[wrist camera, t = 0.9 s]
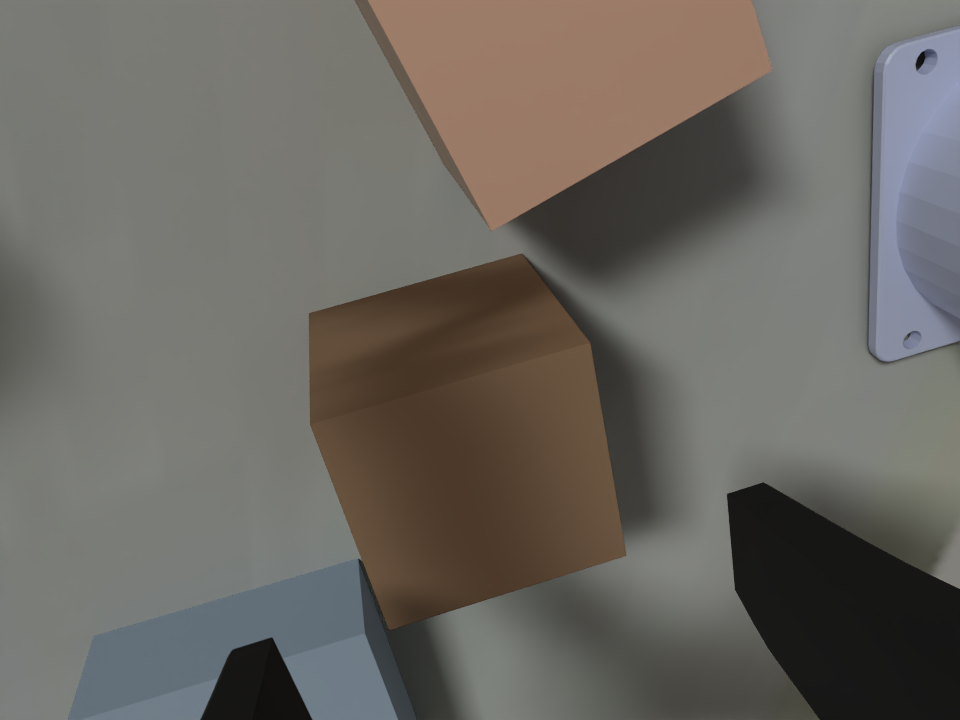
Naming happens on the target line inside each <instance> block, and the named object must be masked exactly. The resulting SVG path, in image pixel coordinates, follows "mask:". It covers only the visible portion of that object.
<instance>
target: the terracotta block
mask: <svg viewBox="0 0 960 720" xmlns="http://www.w3.org/2000/svg"><path fill="white" fill-rule="evenodd" d="M354 1H355V2H356V4H357V6H358V8H359V10H360V12H361V13H362V15H363V17H364V19H365V21H366V23H367V24H368V26H369V28H370V30H371V32H372V34H373V35H374V37H375V39H376V41H377V43H378V45H379V46H380V48H381V50H382V52H383V54H384V56H385V57H386V59H387V61H388V63H389V65H390V67H391V68H392V70H393V72H394V74H395V76H396V78H397V80H398V81H399V83H400V85H401V87H402V89H403V91H404V92H405V94H406V96H407V98H408V100H409V102H410V103H411V105H412V107H413V109H414V111H415V113H416V114H417V116H418V118H419V120H420V122H421V124H422V125H423V127H424V129H425V131H426V133H427V135H428V136H429V138H430V140H431V142H432V144H433V146H434V147H435V149H436V151H437V153H438V155H439V157H440V158H441V160H442V162H443V164H444V165H445V167H446V168H447V170H448V171H449V172H450V174H451V175H452V177H453V178H454V179H455V181H456V182H457V184H458V185H459V186H460V188H461V189H462V191H463V192H464V193H465V195H466V196H467V198H468V199H469V200H470V202H471V203H472V205H473V206H474V207H475V209H476V210H477V212H478V213H479V214H480V216H481V217H482V219H483V220H484V221H485V223H486V224H487V225H488V227H489V228H490V230H491V231H493V230H495V229H497V228H498V227H500V226H502V225H504V224H505V223H507V222H509V221H511V220H512V219H514V218H516V217H518V216H519V215H521V214H523V213H525V212H526V211H528V210H530V209H532V208H533V207H535V206H537V205H538V204H540V203H542V202H544V201H545V200H547V199H549V198H551V197H552V196H554V195H556V194H558V193H559V192H561V191H563V190H565V189H566V188H568V187H570V186H572V185H573V184H575V183H577V182H579V181H580V180H582V179H584V178H586V177H587V176H589V175H591V174H593V173H594V172H596V171H598V170H600V169H601V168H603V167H605V166H606V165H608V164H610V163H612V162H613V161H615V160H617V159H619V158H620V157H622V156H624V155H626V154H627V153H629V152H631V151H633V150H634V149H636V148H638V147H640V146H641V145H643V144H645V143H647V142H648V141H650V140H652V139H654V138H655V137H657V136H659V135H661V134H662V133H664V132H666V131H668V130H669V129H671V128H673V127H674V126H676V125H678V124H680V123H681V122H683V121H685V120H687V119H688V118H690V117H692V116H694V115H695V114H697V113H699V112H701V111H702V110H704V109H706V108H708V107H709V106H711V105H713V104H715V103H716V102H718V101H720V100H722V99H723V98H725V97H727V96H729V95H730V94H732V93H734V92H736V91H737V90H739V89H741V88H742V87H744V86H746V85H748V84H749V83H751V82H753V81H755V80H756V79H758V78H760V77H762V76H763V75H765V74H767V73H769V72H770V71H772V67H771V63H770V60H769V57H768V53H767V50H766V47H765V43H764V40H763V36H762V33H761V30H760V26H759V23H758V20H757V16H756V13H755V10H754V6H753V3H752V0H354Z"/></svg>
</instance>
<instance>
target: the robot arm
mask: <svg viewBox="0 0 960 720" xmlns="http://www.w3.org/2000/svg"><path fill="white" fill-rule="evenodd" d="M923 51H924V53H925V60H924V64H923V65H922V66H921V68H920V69H919V70H917V71H916V66H915V64H916V60H917V58H918V56H919V55H920V54H921V52H923ZM910 332H911V334H910V337H909V338H908V339H907V340H906V341H904V338H905V337H906V336H907V334H909V333H910ZM903 341H904V342H903ZM958 341H960V25H958V26H954V27H951V28H947V29H943V30H940V31H936V32H932V33H929V34H925V35H921V36H918V37H914V38H910V39H906V40H903V41H899V42H896V43H894V44H892V45H889V46H888V47H887V48H886V49H885V50H884V51H883V52H882V53H881V54H880V56H879V58H878V60H877V61H876V65H875V71H874V109H873V156H872V202H871V249H870V296H869V343H868V346H869V350H870V352H871V353H872V354H873V355H874V356H875V357H877V358H878V359H879V360H881V361H885V362H890V361H895V360H898V359H902V358H905V357H908V356H912V355H915V354H918V353H922V352H925V351H928V350H931V349H935V348H938V347H941V346H945V345H948V344H951V343H954V342H958ZM727 500H728V512H729V524H730V536H731V548H732V559H733V571H734V583H735V591H736V592H737V594H738V596H739V598H740V600H741V601H742V603H743V605H744V607H745V609H746V610H747V612H748V614H749V616H750V618H751V620H752V621H753V623H754V625H755V627H756V628H757V630H758V632H759V633H760V635H761V637H762V639H763V640H764V642H765V644H766V645H767V647H768V649H769V650H770V652H771V653H772V654H773V656H774V657H775V659H776V660H777V661H778V663H779V664H780V665H781V667H782V668H783V670H784V671H785V672H786V674H787V675H788V677H789V678H790V679H791V681H792V682H793V683H794V685H795V686H796V688H797V689H798V690H799V692H800V693H801V694H802V696H803V697H804V698H805V700H806V701H807V703H808V704H809V705H810V707H811V708H812V709H813V711H814V712H815V713H816V715H817V716H818V717H819V719H820V720H960V589H958V588H956V587H954V586H952V585H950V584H948V583H946V582H944V581H942V580H939V579H938V578H936V577H933V576H931V575H929V574H927V573H925V572H923V571H921V570H919V569H917V568H915V567H913V566H911V565H909V564H907V563H905V562H903V561H901V560H900V559H898V558H896V557H894V556H892V555H890V554H888V553H887V552H885V551H883V550H881V549H879V548H877V547H875V546H874V545H872V544H870V543H868V542H866V541H864V540H863V539H861V538H859V537H857V536H855V535H854V534H852V533H850V532H848V531H847V530H845V529H843V528H841V527H840V526H838V525H836V524H834V523H833V522H831V521H829V520H827V519H826V518H824V517H822V516H820V515H819V514H817V513H815V512H814V511H812V510H810V509H808V508H807V507H805V506H803V505H802V504H800V503H798V502H797V501H795V500H793V499H791V498H790V497H788V496H786V495H784V494H783V493H781V492H779V491H778V490H776V489H774V488H772V487H771V486H769V485H767V484H765V483H760V484H757V485H754V486H751V487H748V488H744V489H741V490H738V491H735V492H732V493H729V494H727ZM200 720H312V718H311V716H310V713H309V711H308V709H307V707H306V705H305V703H304V701H303V699H302V697H301V695H300V693H299V691H298V689H297V687H296V685H295V683H294V681H293V678H292V676H291V674H290V672H289V670H288V668H287V666H286V664H285V662H284V660H283V658H282V656H281V654H280V652H279V650H278V648H277V646H276V644H275V641H274V639H273V637H271V638H267V639H264V640H261V641H258V642H255V643H252V644H248V645H245V646H242V647H239V648H236V649H232V651H231V652H230V654H229V655H228V657H227V659H226V662H225V664H224V666H223V669H222V671H221V673H220V676H219V678H218V680H217V683H216V685H215V687H214V690H213V692H212V694H211V696H210V699H209V701H208V703H207V706H206V708H205V710H204V713H203V715H202V717H201V719H200Z"/></svg>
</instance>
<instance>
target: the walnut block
mask: <svg viewBox="0 0 960 720" xmlns="http://www.w3.org/2000/svg"><path fill="white" fill-rule="evenodd" d="M309 364H310V426H311V428H312V431H313V433H314V436H315V439H316V441H317V444H318V446H319V449H320V452H321V454H322V457H323V459H324V462H325V465H326V467H327V470H328V472H329V475H330V478H331V480H332V483H333V486H334V488H335V491H336V493H337V496H338V499H339V501H340V504H341V506H342V509H343V512H344V514H345V517H346V519H347V522H348V525H349V527H350V530H351V532H352V535H353V538H354V540H355V543H356V545H357V548H358V551H359V553H360V556H361V559H362V561H363V564H364V566H365V569H366V572H367V574H368V577H369V579H370V582H371V585H372V587H373V590H374V592H375V595H376V598H377V600H378V603H379V605H380V608H381V611H382V613H383V616H384V619H385V621H386V624H387V626H388V629H389V630H392V629H395V628H398V627H401V626H405V625H408V624H411V623H414V622H417V621H421V620H424V619H427V618H430V617H433V616H436V615H440V614H443V613H446V612H449V611H452V610H455V609H459V608H462V607H465V606H468V605H471V604H475V603H478V602H481V601H484V600H487V599H490V598H494V597H497V596H500V595H503V594H506V593H509V592H513V591H516V590H519V589H522V588H525V587H529V586H532V585H535V584H538V583H541V582H544V581H548V580H551V579H554V578H557V577H560V576H563V575H567V574H570V573H573V572H576V571H579V570H583V569H586V568H589V567H592V566H595V565H598V564H602V563H605V562H608V561H611V560H614V559H617V558H621V557H624V556H626V550H625V545H624V539H623V533H622V527H621V521H620V515H619V509H618V503H617V497H616V492H615V486H614V480H613V474H612V468H611V462H610V456H609V450H608V444H607V439H606V433H605V427H604V421H603V415H602V409H601V403H600V397H599V391H598V385H597V380H596V374H595V368H594V362H593V356H592V350H591V344H590V342H589V340H588V339H587V338H586V336H585V335H584V334H583V333H582V331H581V330H580V329H579V327H578V326H577V325H576V323H575V322H574V321H573V320H572V318H571V317H570V316H569V314H568V313H567V312H566V310H565V309H564V308H563V306H562V305H561V304H560V303H559V301H558V300H557V299H556V297H555V296H554V295H553V293H552V292H551V291H550V290H549V288H548V287H547V286H546V284H545V283H544V282H543V280H542V279H541V278H540V277H539V275H538V274H537V273H536V271H535V270H534V269H533V267H532V266H531V265H530V263H529V262H528V261H527V260H526V258H525V257H524V256H523V254H519V255H515V256H511V257H508V258H504V259H501V260H497V261H494V262H490V263H487V264H483V265H479V266H476V267H472V268H469V269H465V270H462V271H458V272H455V273H451V274H447V275H444V276H440V277H437V278H433V279H430V280H426V281H423V282H419V283H415V284H412V285H408V286H405V287H401V288H398V289H394V290H391V291H387V292H384V293H380V294H376V295H373V296H369V297H366V298H362V299H359V300H355V301H352V302H348V303H344V304H341V305H337V306H334V307H330V308H327V309H323V310H320V311H316V312H312V313H309Z"/></svg>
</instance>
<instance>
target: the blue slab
mask: <svg viewBox="0 0 960 720" xmlns="http://www.w3.org/2000/svg"><path fill="white" fill-rule="evenodd" d="M271 637H273V639H274V641H275V644H276V646H277V648H278V650H279V652H280V654H281V656H282V658H283V660H284V662H285V664H286V666H287V668H288V670H289V672H290V674H291V676H292V678H293V681H294V683H295V685H296V687H297V689H298V691H299V693H300V695H301V697H302V699H303V701H304V703H305V705H306V707H307V709H308V711H309V713H310V716H311V718H312V720H417V719H416V716H415V713H414V711H413V708H412V705H411V702H410V700H409V697H408V694H407V691H406V689H405V686H404V683H403V680H402V678H401V675H400V672H399V670H398V667H397V664H396V661H395V659H394V656H393V653H392V650H391V648H390V645H389V642H388V639H387V637H386V634H385V631H384V628H383V626H382V623H381V620H380V618H379V615H378V612H377V609H376V607H375V604H374V601H373V598H372V596H371V593H370V590H369V587H368V585H367V582H366V579H365V576H364V574H363V571H362V568H361V566H360V563H359V560H358V559H355V560H351V561H348V562H345V563H341V564H338V565H334V566H331V567H328V568H324V569H321V570H317V571H314V572H311V573H307V574H304V575H300V576H297V577H294V578H290V579H287V580H283V581H280V582H277V583H273V584H270V585H266V586H263V587H260V588H256V589H253V590H249V591H246V592H243V593H239V594H236V595H232V596H229V597H226V598H222V599H219V600H215V601H212V602H209V603H205V604H202V605H198V606H195V607H192V608H188V609H185V610H181V611H178V612H175V613H171V614H168V615H164V616H161V617H158V618H154V619H151V620H148V621H144V622H141V623H137V624H134V625H131V626H127V627H124V628H120V629H117V630H114V631H110V632H107V633H103V634H100V635H97V636H94V637H93V640H92V644H91V647H90V650H89V653H88V656H87V660H86V663H85V666H84V669H83V672H82V676H81V679H80V682H79V685H78V688H77V692H76V695H75V698H74V701H73V704H72V708H71V711H70V714H69V717H68V720H200V719H201V717H202V715H203V713H204V710H205V708H206V706H207V703H208V701H209V699H210V696H211V694H212V692H213V690H214V687H215V685H216V683H217V680H218V678H219V676H220V673H221V671H222V669H223V666H224V664H225V662H226V659H227V657H228V655H229V654H230V652H231V651H232V649H236V648H239V647H242V646H245V645H248V644H252V643H255V642H258V641H261V640H264V639H267V638H271Z"/></svg>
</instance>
